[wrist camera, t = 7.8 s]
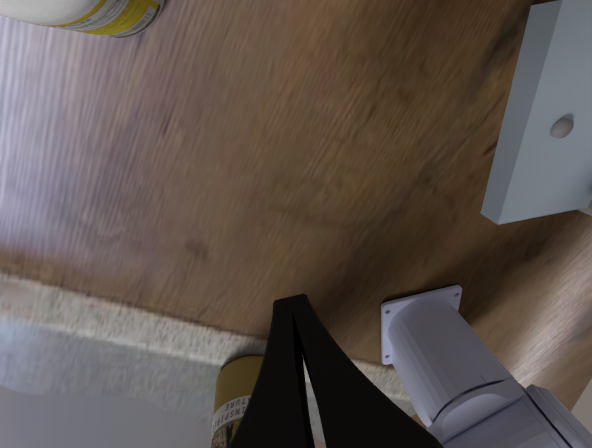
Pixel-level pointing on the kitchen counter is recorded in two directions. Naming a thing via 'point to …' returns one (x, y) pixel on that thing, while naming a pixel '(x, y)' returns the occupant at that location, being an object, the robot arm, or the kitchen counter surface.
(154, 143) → the kitchen counter surface
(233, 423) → the paper tube
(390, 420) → the robot arm
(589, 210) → the side panel
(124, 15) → the supplement bottle
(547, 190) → the door
